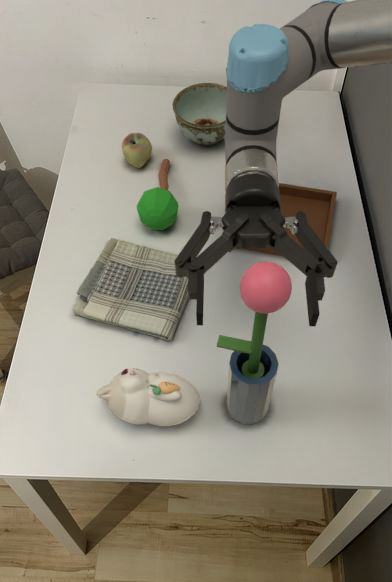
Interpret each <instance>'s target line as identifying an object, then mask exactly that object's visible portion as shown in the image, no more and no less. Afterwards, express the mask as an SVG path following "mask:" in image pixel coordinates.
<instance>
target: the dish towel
mask: <svg viewBox="0 0 392 582" xmlns="http://www.w3.org/2000/svg"><path fill="white" fill-rule="evenodd" d="M178 255H179V254H176V253H175V254H174V253H170V252H166V251H162V250H157V249H154V248H150V247H147V246H141V245H138V244H134V243H132V242H129V241H124V240H121V239H117V238H113V237H111V238H110V239H109V240H108V241H107V242H106V244H105V246H104V248H103V249H102V251H101V252H100V254H99V256H98V258H97V259H96V261H95V263H94V264H93V266H92V267H91V268H90V269H89V272H88V273H87V275H86V277H85V278H84V280H83V281H82V283H81V284H80V285H79V287H78V289H77V291H76V294H77V295H78V296H79V297H78V298H77V301H76V303H75V304H74V306H73V308H72V311H73V314H74V315H77V316H80V317H83V318H86V319H90V320H93V321H97V322H100V323H101V322H102V323H105V324H109V325H113V326H116V327H119V328H120V327H121V328H124V329H128V330H130V331H133V332H136V333H140V334H144V335H147V336H152V337H154V338H158V339H162V340H164V341H166V342H170V341H172V340H173V338H174V334H175V332H176V329H177V327H178V324H179V322H180V319H181V318H182V315H183V313H184V311H185V309H186V306H187V302H188V300H189V297H188V278H187V277H185V276H183V277H178V276H177V275H176V271H175V259H176V258H177V256H178Z"/></svg>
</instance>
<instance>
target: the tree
mask: <svg viewBox="0 0 392 582" xmlns="http://www.w3.org/2000/svg"><path fill="white" fill-rule="evenodd" d="M170 164H171V161H170V159H169V158H166V157H165V158H163V159H162V160H161V163H160V167H159V171H158V175H157V176H158V181H159V186H157V187H154V188H150V189H147V190H145V191H144V192H143V193H142V195H141V196H140V199H139V200H138V202H137V205H136V211H137V214H138V217H139V221H140V223H142V224H143V225H144V226H145V227H147V228H149V229H150V230H152V231H164V230H166V229H167V228H169V227H171V226H172V225H173V224H175V223H176V222H177V219H178V213H179V208H180V206H179V202H178V200H177V199H176V198H175V196H174V195H173V194H172V192H171V190H169V188H170V185H169V180H168V171H169V168H170Z"/></svg>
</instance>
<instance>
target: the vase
mask: <svg viewBox="0 0 392 582" xmlns="http://www.w3.org/2000/svg"><path fill="white" fill-rule="evenodd" d="M249 355H250V354H248V353H243V352H238V351H232V352H231V354H230V358H229V362H228V377H227V395H226V409H227V412H228V414H229V416H230V417H231V418H232V419H233V420H234V421H235V422H237V423H239V424H242V425H255V424H258V423H259V422H260V421H262V420H263V419H264V418H265V416H266V415H267V413H268V410H269V406H270V401H271V398H272V394H273V390H274V386H275V382H276V378H277V373H278V369H279V360H278V357H277V354H276V353H275V351H274V350H272V349H271V348H270V347H269V346H268V345H266V344H263V346H262V352H261V357H260V362H261V363H262V364H263V366H264V375H263V377H261V378H259V379H250V378H248V377H246V376H244V375H242V374H241V369H242V365H243V364H244V362H246V361H247V360H249Z"/></svg>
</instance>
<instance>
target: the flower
mask: <svg viewBox="0 0 392 582" xmlns="http://www.w3.org/2000/svg"><path fill="white" fill-rule="evenodd" d="M292 290H293V285H292V280H291V277H290V275H289V273H288V271H287V270H286V269H285V268H284V267H283V266H282V265H280V264H278V263H275V262H273V261H259V262H257V263H254V264H252V265H251V266H249V267H248V268H247V269H246V270H245V271H244V273H243V274H242V276H241V279H240V282H239V294H240V297H241V299H242V302H243V303H244V305H245V306H246V307H247V308H248V309H250V310H251V311H253V312H254V319H253V326H252V332H251V333H252V334H251V340H247V339H241V338H237V337H232V336H228V335H222V334H219V335H218V338H217V342H216V348H219V349H223V350H224V349H225V350H229V351H232V352H234V351H238V352H243V353H248V354H250V355H249V360H247V361H246V362H244V364H243V365H242V369H241V374H242V375H244V376H246V377H248V378H250V379H259V378H261V377H263V375H264V366H263V364H262V363H261V362H260V357H261V352H262V346H263V345H264V340H265V333H266V330H267V329H266V328H267V323H268V317H269V314H273V313H275V312H278V311H279V310H281V309H282V308H284V307H285V305H286V304H287V303H288V302H289V300H290V298H291V295H292Z"/></svg>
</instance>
